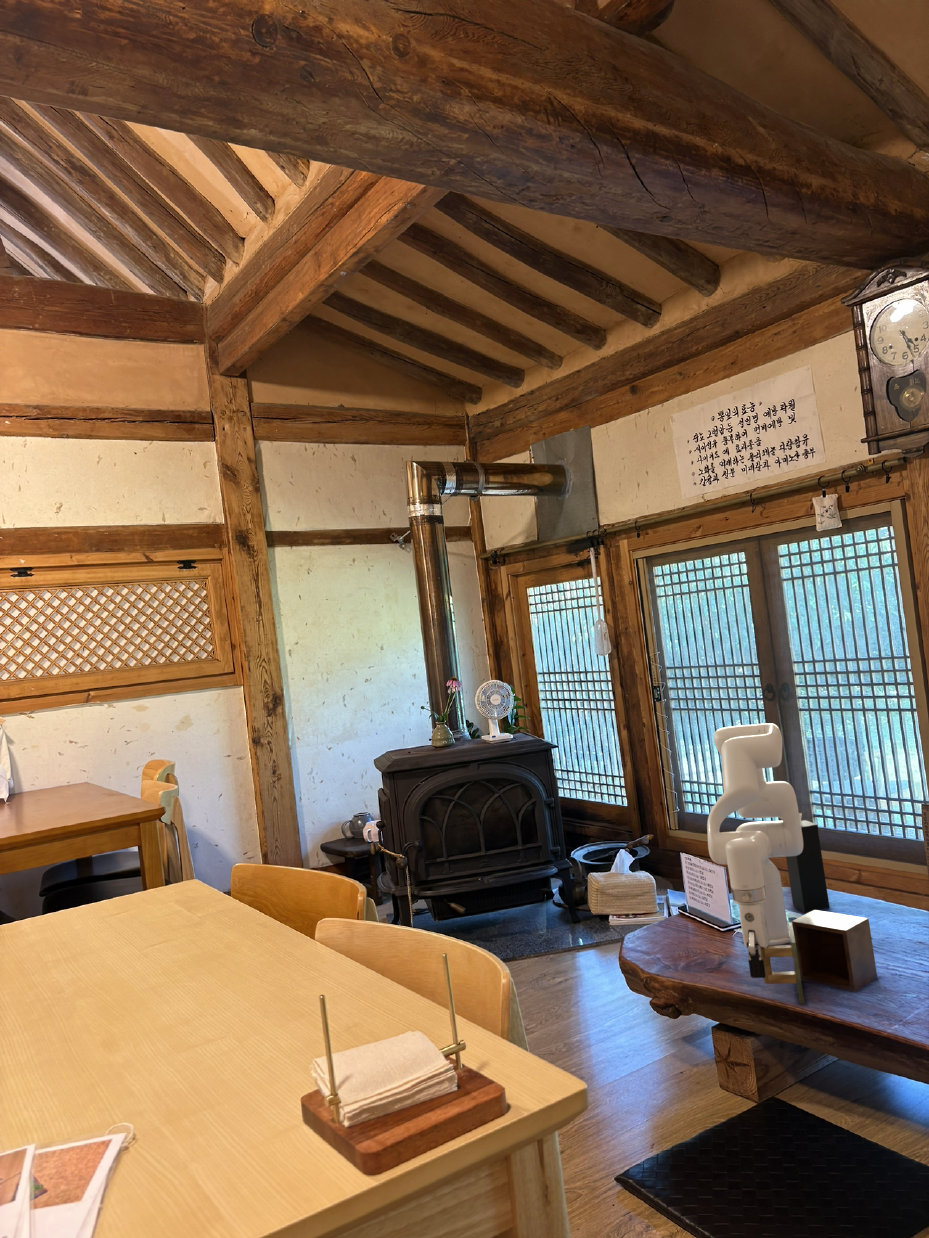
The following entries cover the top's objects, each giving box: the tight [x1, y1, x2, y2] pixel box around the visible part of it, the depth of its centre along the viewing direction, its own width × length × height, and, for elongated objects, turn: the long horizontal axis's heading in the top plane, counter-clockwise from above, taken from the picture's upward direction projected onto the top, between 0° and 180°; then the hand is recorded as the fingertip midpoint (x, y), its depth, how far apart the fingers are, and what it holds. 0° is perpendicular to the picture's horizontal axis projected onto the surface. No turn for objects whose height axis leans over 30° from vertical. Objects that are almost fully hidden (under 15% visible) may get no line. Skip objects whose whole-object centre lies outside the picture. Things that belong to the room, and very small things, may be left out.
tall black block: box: [785, 812, 831, 913], centre depth 267 cm, size 8×8×28 cm
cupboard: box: [791, 910, 878, 993], centre depth 213 cm, size 10×14×14 cm
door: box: [761, 922, 806, 1005], centre depth 209 cm, size 8×14×14 cm, turn 163°
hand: (759, 969), depth 206 cm, fingers open, 8 cm apart
